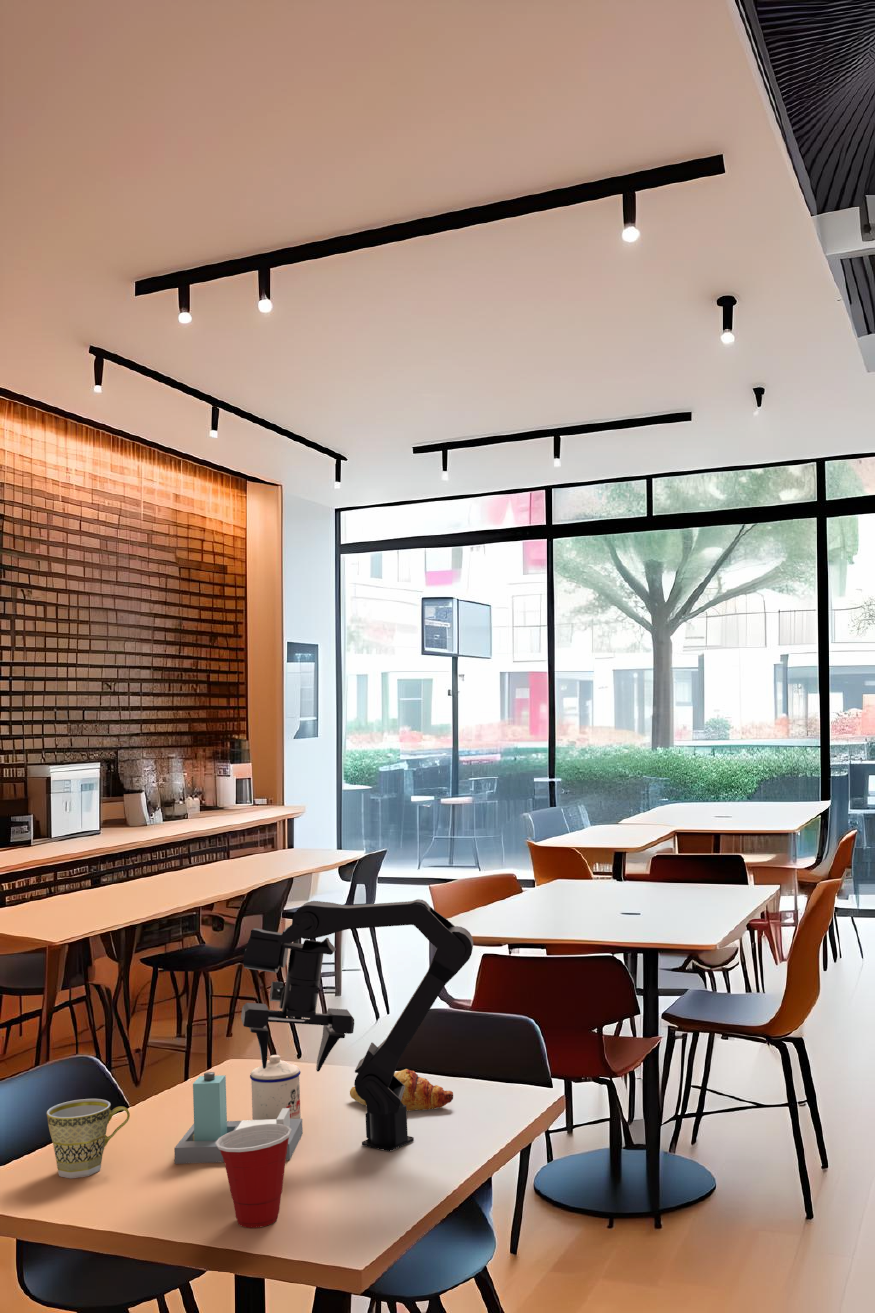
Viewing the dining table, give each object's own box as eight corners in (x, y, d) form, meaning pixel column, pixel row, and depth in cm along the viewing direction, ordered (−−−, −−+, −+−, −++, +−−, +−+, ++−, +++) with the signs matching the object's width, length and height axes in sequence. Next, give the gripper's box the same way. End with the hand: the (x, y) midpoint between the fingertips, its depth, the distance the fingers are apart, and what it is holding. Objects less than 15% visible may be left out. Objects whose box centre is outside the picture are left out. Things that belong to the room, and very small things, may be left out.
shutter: (290, 1123, 196) (290, 1106, 196) (283, 1138, 189) (282, 1120, 189) (242, 1125, 196) (241, 1108, 197) (232, 1140, 189) (231, 1122, 189)
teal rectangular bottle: (227, 1144, 195) (225, 1069, 196) (221, 1153, 190) (219, 1076, 191) (198, 1145, 195) (196, 1070, 196) (191, 1154, 190) (189, 1077, 191)
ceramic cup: (45, 1186, 179) (44, 1120, 180) (49, 1165, 188) (48, 1103, 189) (130, 1174, 182) (129, 1110, 183) (130, 1154, 192) (129, 1093, 193)
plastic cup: (236, 1203, 168) (233, 1119, 169) (305, 1206, 166) (302, 1122, 167) (204, 1234, 158) (202, 1144, 159) (277, 1238, 155) (275, 1147, 156)
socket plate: (302, 1133, 198) (302, 1118, 199) (289, 1160, 185) (289, 1144, 186) (194, 1137, 199) (194, 1122, 199) (174, 1163, 186) (174, 1148, 186)
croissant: (344, 1125, 213) (333, 1092, 210) (363, 1086, 222) (352, 1053, 219) (450, 1131, 205) (440, 1097, 203) (465, 1090, 214) (455, 1057, 211)
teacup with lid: (297, 1130, 201) (294, 1062, 202) (246, 1131, 201) (244, 1063, 202) (308, 1108, 213) (306, 1044, 214) (260, 1110, 213) (258, 1046, 214)
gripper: (348, 970, 204) (336, 1058, 203) (244, 962, 200) (232, 1052, 199) (360, 985, 194) (347, 1078, 193) (250, 976, 189) (237, 1072, 188)
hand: (290, 1069), depth 193 cm, fingers open, 9 cm apart
